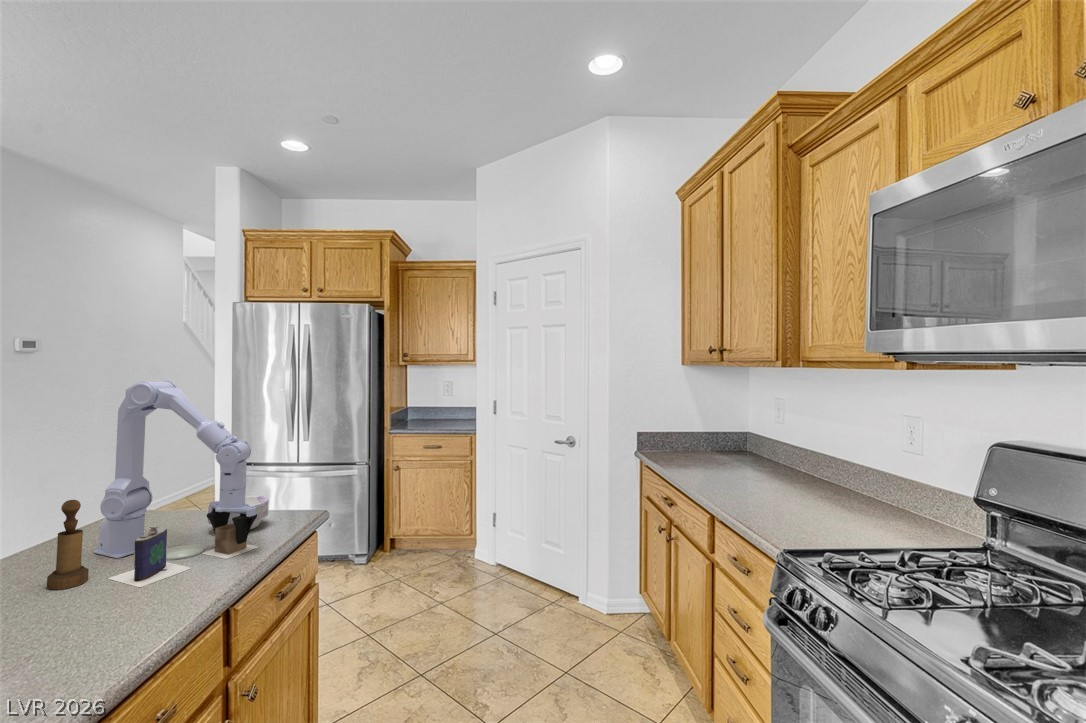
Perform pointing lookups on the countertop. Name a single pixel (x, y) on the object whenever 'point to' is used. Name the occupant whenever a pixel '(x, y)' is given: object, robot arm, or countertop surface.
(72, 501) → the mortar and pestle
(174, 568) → the code tile
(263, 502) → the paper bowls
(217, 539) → the walnut block
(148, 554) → the flask
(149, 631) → the countertop surface
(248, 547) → the code tile
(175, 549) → the plate
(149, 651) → the countertop surface
